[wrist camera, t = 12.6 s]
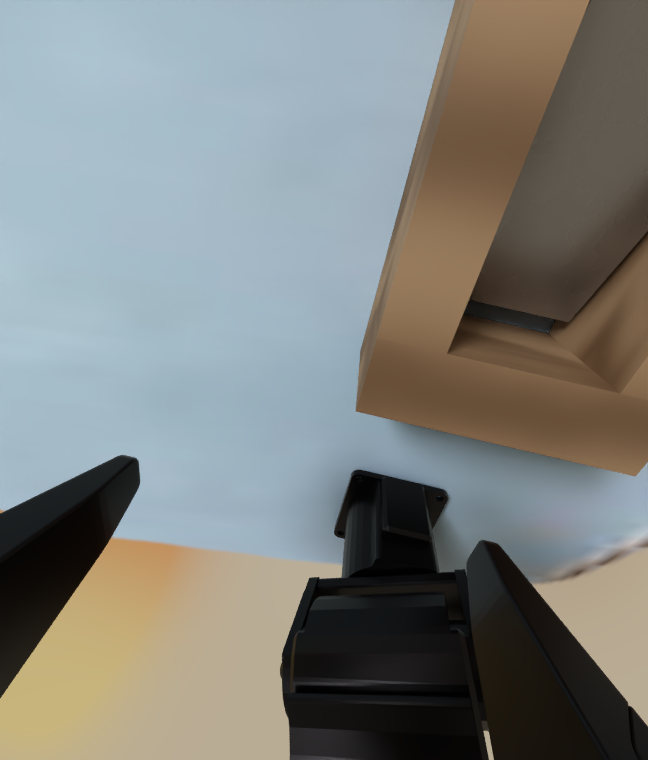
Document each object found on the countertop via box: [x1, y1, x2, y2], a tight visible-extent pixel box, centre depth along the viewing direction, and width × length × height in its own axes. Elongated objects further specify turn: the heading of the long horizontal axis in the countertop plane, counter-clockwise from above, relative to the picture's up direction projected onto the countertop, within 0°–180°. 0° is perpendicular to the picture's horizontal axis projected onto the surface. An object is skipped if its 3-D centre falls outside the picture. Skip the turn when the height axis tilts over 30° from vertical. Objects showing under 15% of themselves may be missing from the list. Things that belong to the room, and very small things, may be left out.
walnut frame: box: [356, 0, 648, 476], centre depth 13 cm, size 19×12×6 cm, turn 169°
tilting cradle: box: [469, 0, 648, 322], centre depth 12 cm, size 11×6×1 cm, turn 169°
